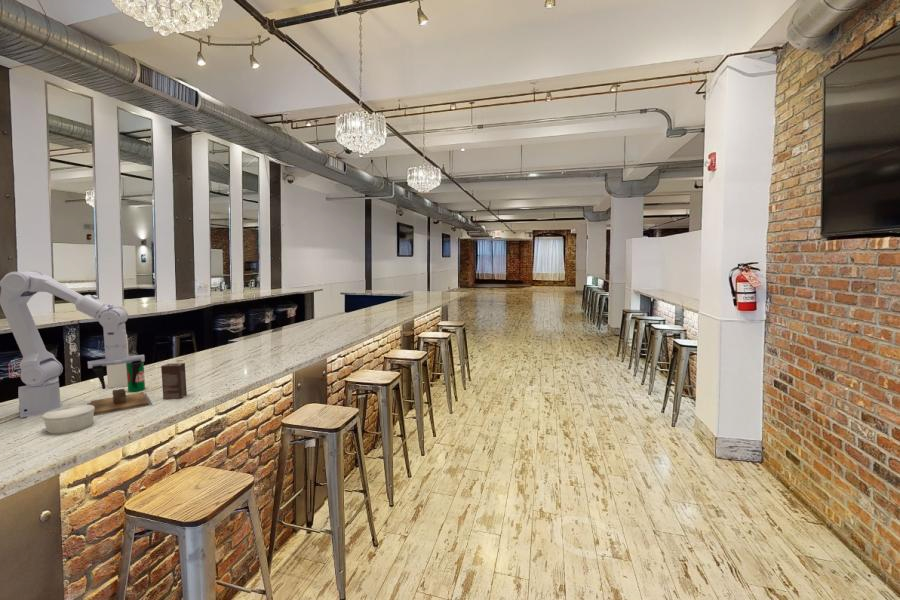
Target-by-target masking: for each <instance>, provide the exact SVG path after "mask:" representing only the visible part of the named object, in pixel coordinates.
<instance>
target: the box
mask: <svg viewBox="0 0 900 600" xmlns="http://www.w3.org/2000/svg"><path fill="white" fill-rule="evenodd" d="M160 368H161V382H162V384H161V385H162V386H161V387H162V399H163V400H177V399H178V400H181V399H183V398H184V397H186V396H187V394H188V392H187V378H186V377H187V376H186V363H185V362H175V363H174V362H173V363H165V364H163V365H161V366H160Z"/></svg>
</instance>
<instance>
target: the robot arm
mask: <svg viewBox="0 0 900 600" xmlns="http://www.w3.org/2000/svg"><path fill="white" fill-rule="evenodd" d="M0 288H1V289H0V307H1V309H2V311H3V314H4V316H5V318H6V319H5V320H6V321H7V323H8V325H9V328H10V330H11V332H12V334H13V337H14V339H15V341H16V344H17V346H18V348H19V350H20V353H21V355H22V359H21V361H20V363H19V365H18V366H19V368H20V379H21V381H22V383H23V384H25V385H23V386H22V385H21V386H18V389H17V390H18V394H17V395H18V403H19V404H18V411H19V415H20V417H19V418H21V419H23V418H27V417H29V416H34V415H35V416H36V415H40V414H45V413H47V412H49V411H51V410H55V409H58V408H63V406H64V405H63V403H61V391H60V378H59V376H61V374H62V373H63V369H64V367H63V364H62V363H61V362H60V361H59V360H58V359H57V358H56V357H55V355H54V353H52V352H49V351H48V350H47V349H46V345H45V344H44V341H43V338H42V337H41V335H40V332H39V330H38V328H37V325H36V323H35V321H34V318H33V315H32V313H31V311H30V309H29V307H28V304H27V303H28V302H29V301H30V300H31V299H32V297H34V295H36V294H37V293H44V292H45V293H48V294H51V295H53V296H55V297H57V298H60V299H62V300H64V301H67V302H69V303H71V304H74V306H75V309H76V311H78V312H80V313H83V314H85V315H87V316H88V317H91V318H93V319H94V320H96V321H98V323H99V324H100V325H101V327H102V329H103V342H104V354H105V358H101V359H96V360H95V359H94V360H90V361H89V360H88V361H87V369H92V371H93V373H94V374H95V375H96V376H97V379H98V380H99V382H100V384H101V389H102V390H105V389H106V382H105V375H104V374H105V373H104V367H107V366H108V365H116V364H124V363H131V372H132V385H133V384H135V380H136V376H137V373H138V370H139V368H140V366H141V362H142V361H143V362H146V361H145V359H146V358H145V357H146V356H145V354H138V355H135V354H134V355H129V352H128V353H127V340H128V338H127V339H126V334H127V329H126V322H127V321H128V319H129V315H128V312H127V310H125V308H123V307H122V306H114V304H112V303H108V302H105V301H103V300H101V299H100V298H99V296H98V295H96V294H93V295H91V294H85V295H84V294H83V295H82V294H81V293H79V292H77V291H75V290H73V289H72V288H70V287H68V286H66V285H65V284H63V283H61V282H60V281H58V280H56V279H54V278H53V277H51V276H50V275H48V274H44V273H43V272H41V271H37V270H29V271H10V272H8V273H7V274H5V275H4V276H3V278H2V279H1V280H0ZM128 355H129V356H128ZM124 361H125V362H124Z"/></svg>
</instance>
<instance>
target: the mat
mask: <svg viewBox="0 0 900 600" xmlns="http://www.w3.org/2000/svg"><path fill="white" fill-rule="evenodd" d="M144 395H145V397H146V399H147V400H148V402H149V405H145V406H140V407H135V408H129V409H124V410H118V411H113V412H107V413H102V414H96V415H94V416H93V417H95V416H97V417H98V416H101V415H102V416H103V415H107V414H112V413H118V412H123V411H128V410H134V409H140V408H145V407H151V406H153V404H154V403H152V401H151V399H150V397H149V396H148V394H147V393H144ZM86 405H91V402H87V403H86Z"/></svg>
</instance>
